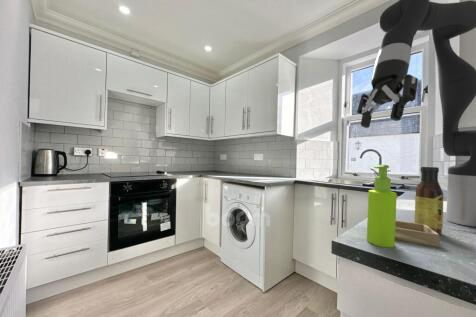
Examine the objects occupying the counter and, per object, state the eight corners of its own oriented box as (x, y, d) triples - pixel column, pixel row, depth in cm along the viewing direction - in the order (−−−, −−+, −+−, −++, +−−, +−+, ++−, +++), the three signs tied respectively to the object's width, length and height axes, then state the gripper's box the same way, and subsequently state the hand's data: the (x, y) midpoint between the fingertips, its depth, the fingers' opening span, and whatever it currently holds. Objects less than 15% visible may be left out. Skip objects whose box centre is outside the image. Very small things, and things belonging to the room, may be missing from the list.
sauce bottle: (444, 237, 57) (447, 167, 57) (415, 231, 61) (417, 166, 61) (439, 231, 62) (442, 167, 62) (413, 226, 66) (415, 166, 66)
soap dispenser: (361, 242, 51) (364, 164, 51) (370, 236, 56) (373, 164, 56) (389, 250, 47) (393, 165, 47) (397, 243, 51) (400, 165, 51)
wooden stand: (382, 228, 63) (382, 218, 63) (424, 234, 59) (425, 224, 59) (388, 238, 55) (389, 227, 55) (438, 246, 50) (439, 234, 50)
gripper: (432, 58, 48) (419, 122, 46) (378, 83, 62) (366, 133, 60) (408, 45, 46) (394, 111, 44) (358, 73, 60) (346, 124, 58)
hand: (378, 123), depth 52 cm, fingers open, 8 cm apart
